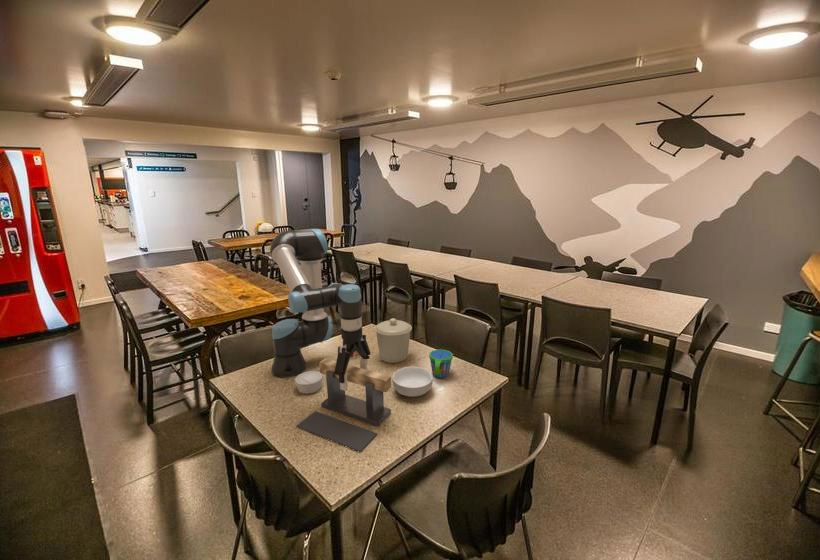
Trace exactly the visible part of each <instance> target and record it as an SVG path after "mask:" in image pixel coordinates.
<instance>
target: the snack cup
mask: <svg viewBox="0 0 820 560" xmlns="http://www.w3.org/2000/svg"><path fill="white" fill-rule="evenodd" d="M428 354H429V355H428V359H429V361H430V367H431V374H432V376H433V377H435V378H437V379H445V378H448V376H449V375H450V371H451V367H452V360H453V357H454V354H453V353H452V352H451V351H450V350H447V349H433V350H431V351H430V352H429V353H428Z"/></svg>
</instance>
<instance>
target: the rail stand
mask: <svg viewBox="0 0 820 560" xmlns="http://www.w3.org/2000/svg"><path fill="white" fill-rule="evenodd" d="M325 379H326V380H325V381H326V393H327V395H326V396H327V398H326V399H325V400H323V401H322V402H321V408H322V409H325V410H327V411H330V412H334V413H336V412H337V413H336V414H339V415H342V416H345V417H348V418H350V419H354V420H357V421H359V422H362V423H365V424H367V425H370V426H374V427H377V428H379V427H380V426H381V425H382V424H383V422H385V421H386V420H387V418H388V417H389V416H391V414H392V409H391V408H389V407H385V401H384V397H385V396H384V392H383V391H379V390H376V389H374V384H373V383H370V382H366V383H365V386H364V387H365V400H363V399H361V398H357V397H354V396H351V395H348V394H346V391H344V390H341V389H340V382H339V378H335V377H334V372H332V371H326V375H325Z"/></svg>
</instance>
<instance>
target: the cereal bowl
mask: <svg viewBox="0 0 820 560" xmlns="http://www.w3.org/2000/svg"><path fill="white" fill-rule="evenodd" d="M433 377H434V376H433V374H432V372H431V371H429V370H428V369H426V368H423V367H419V366H405V367H402V368H399V369H397V370H395V371H394V372H393V374H392V376H391V383H392V386H393V387H394V389H395V391H396V392H397V393H399V394H401V395H403V396H406V397H419V396H422V395H425V394H426V393H427V392H428V391H430V389H431V388H432V386H433V382H434V379H433Z"/></svg>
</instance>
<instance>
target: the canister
mask: <svg viewBox="0 0 820 560" xmlns="http://www.w3.org/2000/svg"><path fill="white" fill-rule="evenodd" d="M412 329H413V327H412V325H411V324H410V323H408V322H406V321H404V320H398V319H396V318H394V317H393V318H390V319H388V320H385V321H382V322H380V323H378V324H376V325H375V326H374V332H375V333H376V341H377V346H378V353H379V356H380V359H381V360H382V361H383V362H385V363H388V364H399V363H401V362H404V361H405V360H406V359H407V358H408V354H409V348H410V347H409V346H410V338H411V337H410V336H411V331H412Z"/></svg>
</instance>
